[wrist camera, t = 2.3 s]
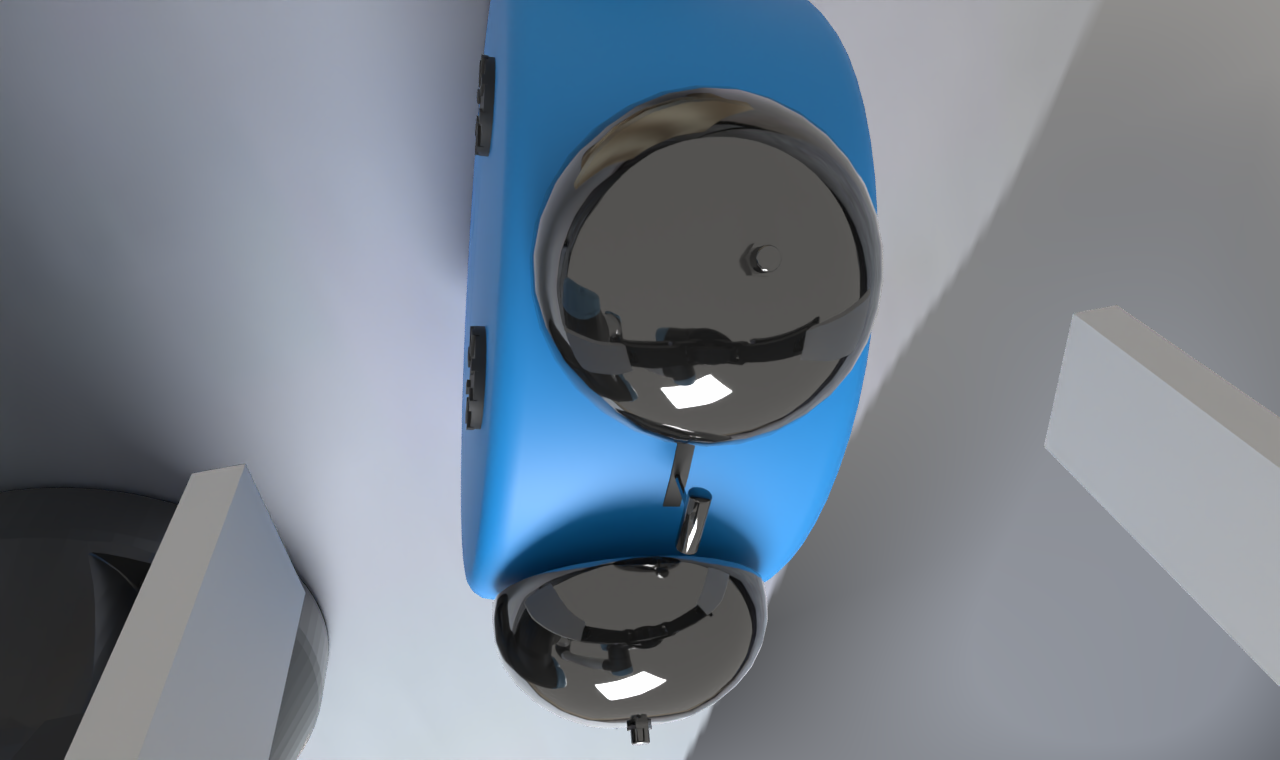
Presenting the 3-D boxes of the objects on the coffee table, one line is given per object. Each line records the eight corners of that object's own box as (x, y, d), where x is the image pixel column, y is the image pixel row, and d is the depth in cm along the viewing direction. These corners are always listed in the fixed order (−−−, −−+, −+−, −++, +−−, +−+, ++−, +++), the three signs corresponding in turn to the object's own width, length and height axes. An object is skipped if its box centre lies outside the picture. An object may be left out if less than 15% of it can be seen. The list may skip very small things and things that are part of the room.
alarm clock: (638, 387, 28) (786, 813, 15) (451, 378, 26) (447, 844, 14) (722, -41, 21) (1095, 100, 9) (480, -84, 20) (520, 11, 7)
